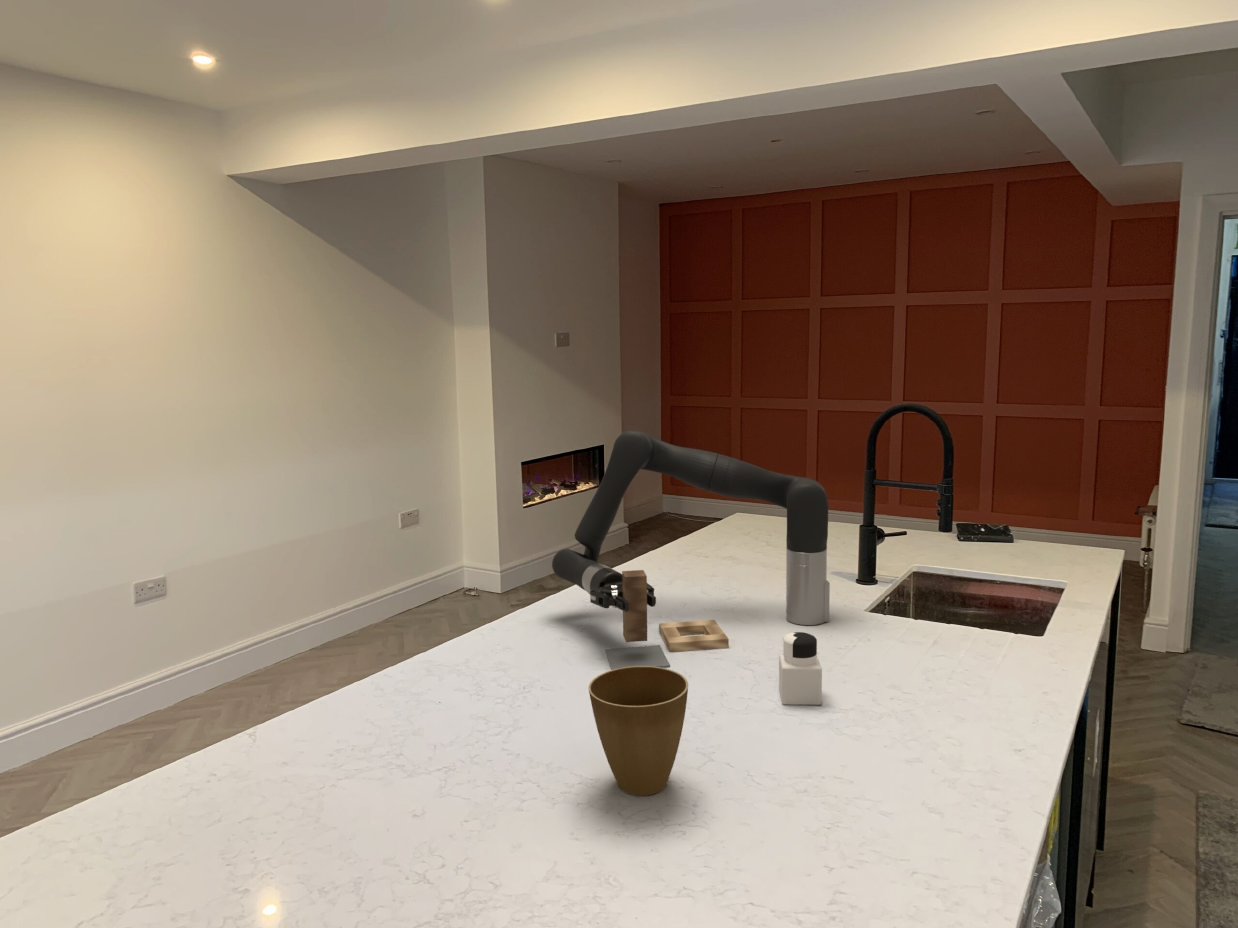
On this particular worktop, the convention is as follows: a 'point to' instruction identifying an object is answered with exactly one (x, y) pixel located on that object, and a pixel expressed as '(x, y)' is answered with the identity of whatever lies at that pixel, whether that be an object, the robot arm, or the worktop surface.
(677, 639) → the oak socket
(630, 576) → the walnut post
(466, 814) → the worktop surface
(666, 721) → the plant pot
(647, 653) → the grey mat
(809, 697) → the medicine bottle
